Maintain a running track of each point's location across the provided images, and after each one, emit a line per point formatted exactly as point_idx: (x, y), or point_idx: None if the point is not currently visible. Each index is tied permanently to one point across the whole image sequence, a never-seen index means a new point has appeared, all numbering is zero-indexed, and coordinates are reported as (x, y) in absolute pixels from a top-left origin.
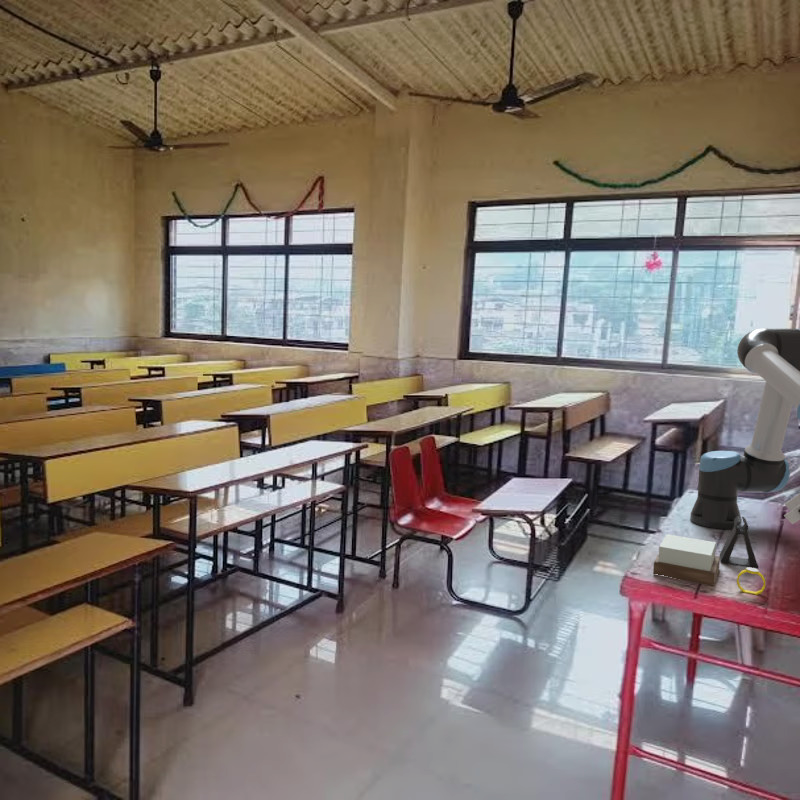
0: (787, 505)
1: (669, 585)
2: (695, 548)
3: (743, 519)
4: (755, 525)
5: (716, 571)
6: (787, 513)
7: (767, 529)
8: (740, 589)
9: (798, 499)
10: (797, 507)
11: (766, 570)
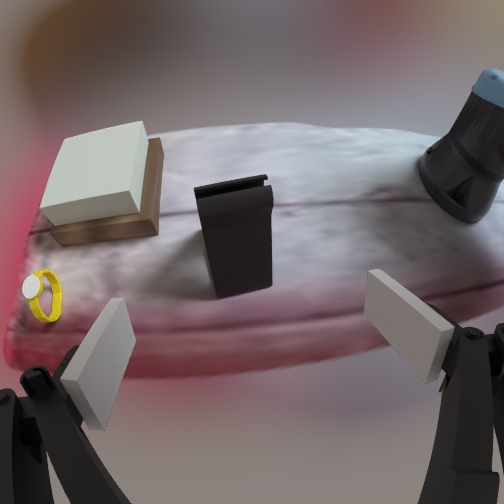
0: (369, 284)
1: None
2: (70, 176)
3: (232, 192)
4: (495, 242)
5: (91, 234)
6: (110, 306)
7: (494, 262)
8: (52, 286)
9: (398, 315)
10: (84, 338)
11: (214, 317)
